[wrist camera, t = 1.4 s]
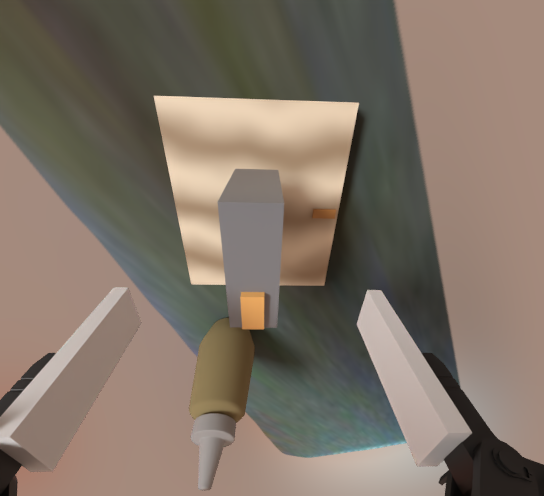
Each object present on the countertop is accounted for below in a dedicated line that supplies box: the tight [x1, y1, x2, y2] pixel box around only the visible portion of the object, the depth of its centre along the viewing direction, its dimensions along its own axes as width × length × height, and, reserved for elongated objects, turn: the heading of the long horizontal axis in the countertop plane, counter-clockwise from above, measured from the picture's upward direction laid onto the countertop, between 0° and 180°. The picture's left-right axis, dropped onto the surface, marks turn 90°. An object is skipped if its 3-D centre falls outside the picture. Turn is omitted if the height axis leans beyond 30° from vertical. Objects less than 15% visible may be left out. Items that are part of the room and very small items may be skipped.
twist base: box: [154, 96, 359, 286], centre depth 24 cm, size 20×17×4 cm
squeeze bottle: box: [189, 318, 255, 490], centre depth 29 cm, size 8×8×18 cm
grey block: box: [217, 169, 284, 329], centre depth 18 cm, size 10×4×8 cm, turn 178°
